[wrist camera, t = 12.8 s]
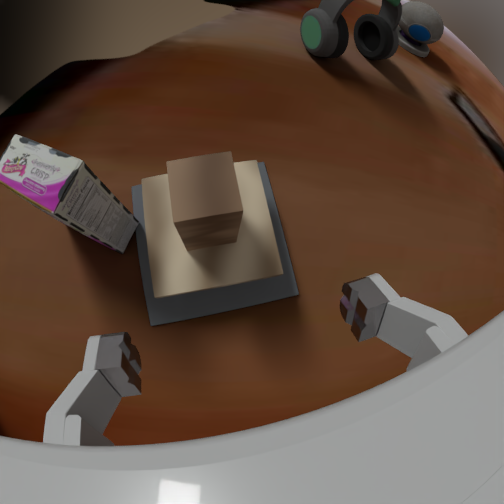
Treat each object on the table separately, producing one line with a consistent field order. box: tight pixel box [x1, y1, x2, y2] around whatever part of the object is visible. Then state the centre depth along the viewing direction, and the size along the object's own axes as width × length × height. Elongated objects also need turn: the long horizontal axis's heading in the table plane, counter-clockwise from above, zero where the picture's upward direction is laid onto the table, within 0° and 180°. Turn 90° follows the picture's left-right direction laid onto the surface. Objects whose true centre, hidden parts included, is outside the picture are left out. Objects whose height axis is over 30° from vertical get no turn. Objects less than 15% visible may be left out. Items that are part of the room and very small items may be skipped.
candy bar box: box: [0, 134, 139, 254], centre depth 25 cm, size 11×5×16 cm, turn 67°
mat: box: [132, 162, 299, 326], centre depth 35 cm, size 18×18×1 cm
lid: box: [142, 151, 283, 298], centre depth 25 cm, size 13×13×10 cm
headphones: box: [300, 0, 402, 60], centre depth 37 cm, size 19×11×20 cm, turn 109°
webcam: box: [396, 1, 444, 57], centre depth 45 cm, size 13×13×15 cm
